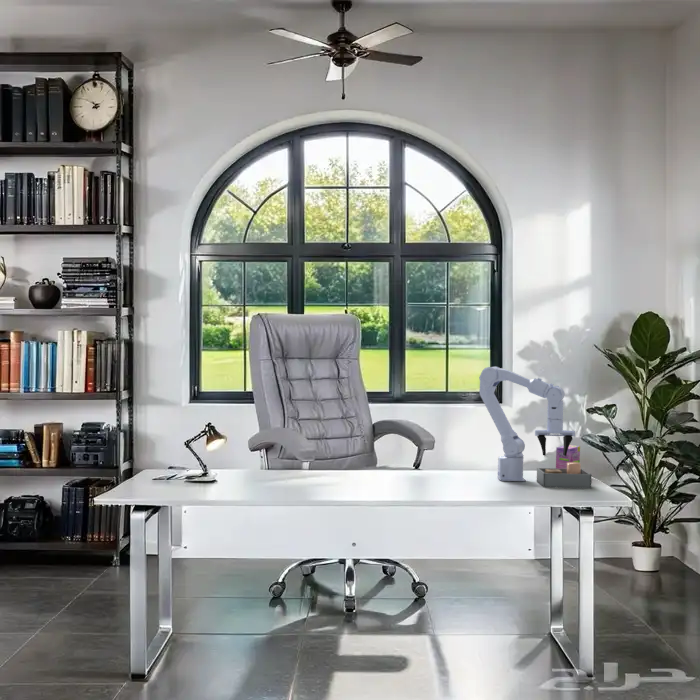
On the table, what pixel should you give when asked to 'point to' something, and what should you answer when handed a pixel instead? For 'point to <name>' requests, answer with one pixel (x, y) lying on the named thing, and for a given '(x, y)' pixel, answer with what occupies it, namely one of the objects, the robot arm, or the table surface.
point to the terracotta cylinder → (573, 468)
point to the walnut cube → (553, 471)
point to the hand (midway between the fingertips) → (554, 455)
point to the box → (567, 456)
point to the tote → (563, 479)
